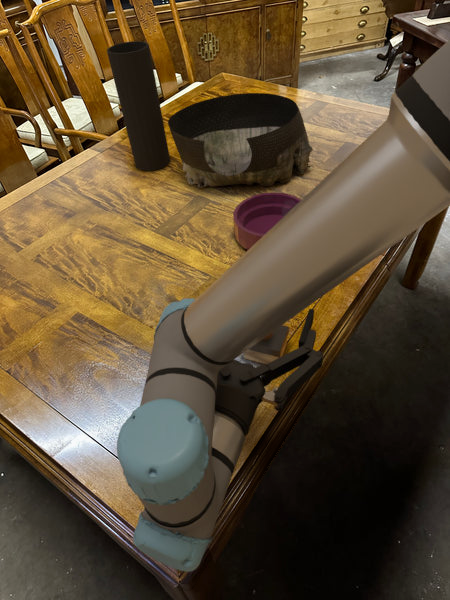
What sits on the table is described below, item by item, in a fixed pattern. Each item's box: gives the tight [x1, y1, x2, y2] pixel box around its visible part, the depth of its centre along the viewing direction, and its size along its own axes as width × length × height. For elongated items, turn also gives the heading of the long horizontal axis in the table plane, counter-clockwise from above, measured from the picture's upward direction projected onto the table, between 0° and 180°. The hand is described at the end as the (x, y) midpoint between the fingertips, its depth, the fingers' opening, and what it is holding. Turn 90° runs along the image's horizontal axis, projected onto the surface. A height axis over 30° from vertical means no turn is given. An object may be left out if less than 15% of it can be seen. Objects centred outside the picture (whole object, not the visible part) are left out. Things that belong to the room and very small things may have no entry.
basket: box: [167, 92, 314, 189], centre depth 108 cm, size 28×35×16 cm
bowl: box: [232, 191, 303, 251], centre depth 92 cm, size 17×17×6 cm
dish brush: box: [243, 324, 290, 364], centre depth 65 cm, size 6×5×16 cm
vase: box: [106, 40, 171, 172], centre depth 112 cm, size 10×10×30 cm
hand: (267, 305), depth 65 cm, fingers open, 13 cm apart
